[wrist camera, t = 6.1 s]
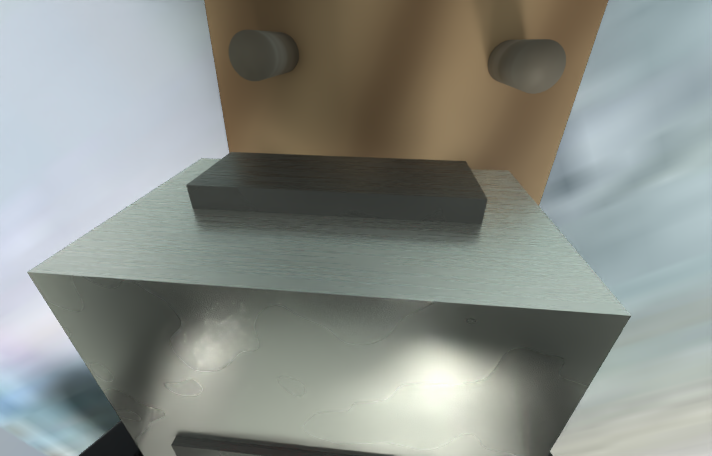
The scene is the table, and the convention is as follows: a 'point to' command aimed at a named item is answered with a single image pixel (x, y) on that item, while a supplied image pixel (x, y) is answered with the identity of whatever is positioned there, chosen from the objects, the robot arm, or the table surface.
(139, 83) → the table surface
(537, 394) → the drive
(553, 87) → the wooden peg board
